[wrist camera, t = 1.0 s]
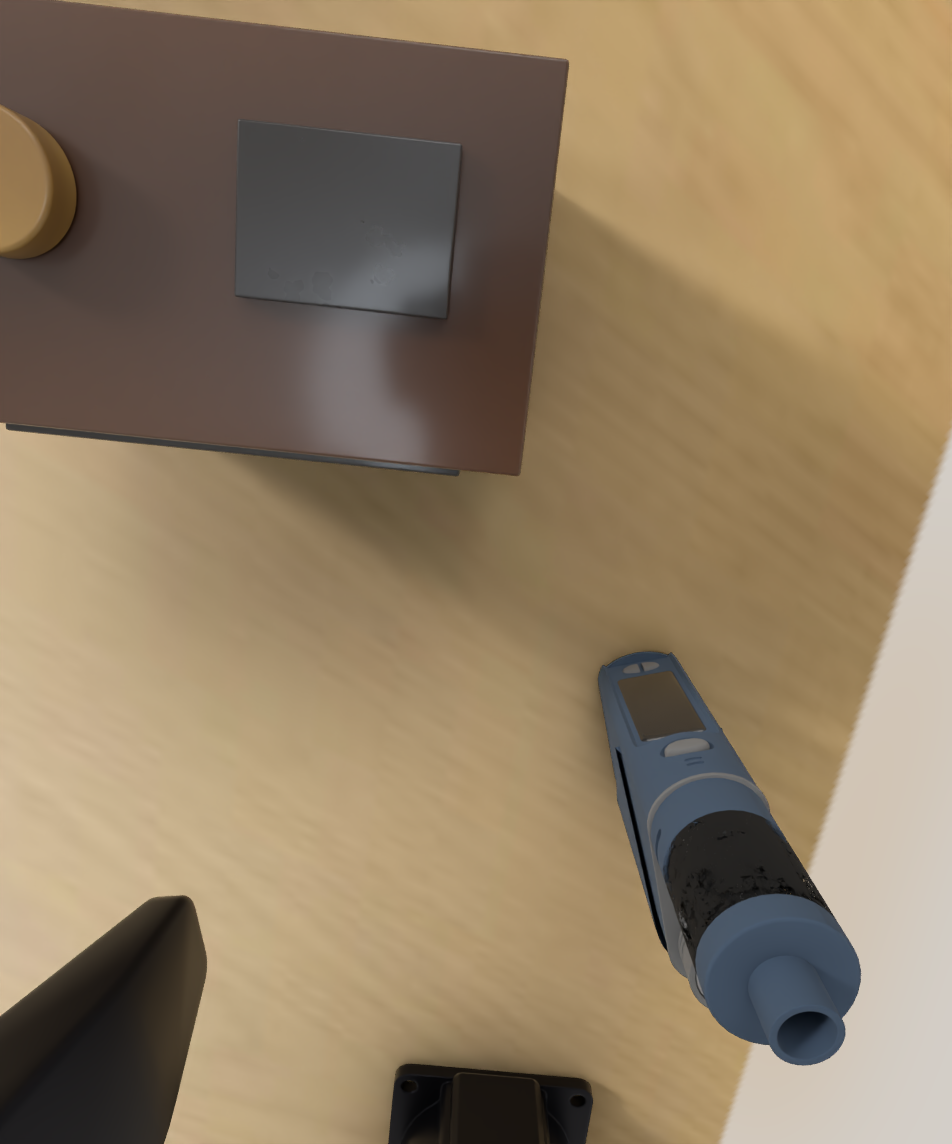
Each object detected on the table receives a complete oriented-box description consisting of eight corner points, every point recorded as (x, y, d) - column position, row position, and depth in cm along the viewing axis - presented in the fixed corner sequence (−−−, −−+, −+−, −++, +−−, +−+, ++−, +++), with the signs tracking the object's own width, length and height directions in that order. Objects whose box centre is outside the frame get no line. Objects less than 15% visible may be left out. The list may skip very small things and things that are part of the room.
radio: (504, 439, 21) (520, 504, 12) (117, 398, 20) (-139, 436, 12) (533, 174, 19) (575, 37, 11) (111, 126, 19) (-192, -52, 10)
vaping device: (680, 633, 22) (897, 946, 11) (702, 797, 24) (916, 1232, 12) (588, 649, 22) (703, 977, 11) (616, 812, 24) (745, 1255, 12)
